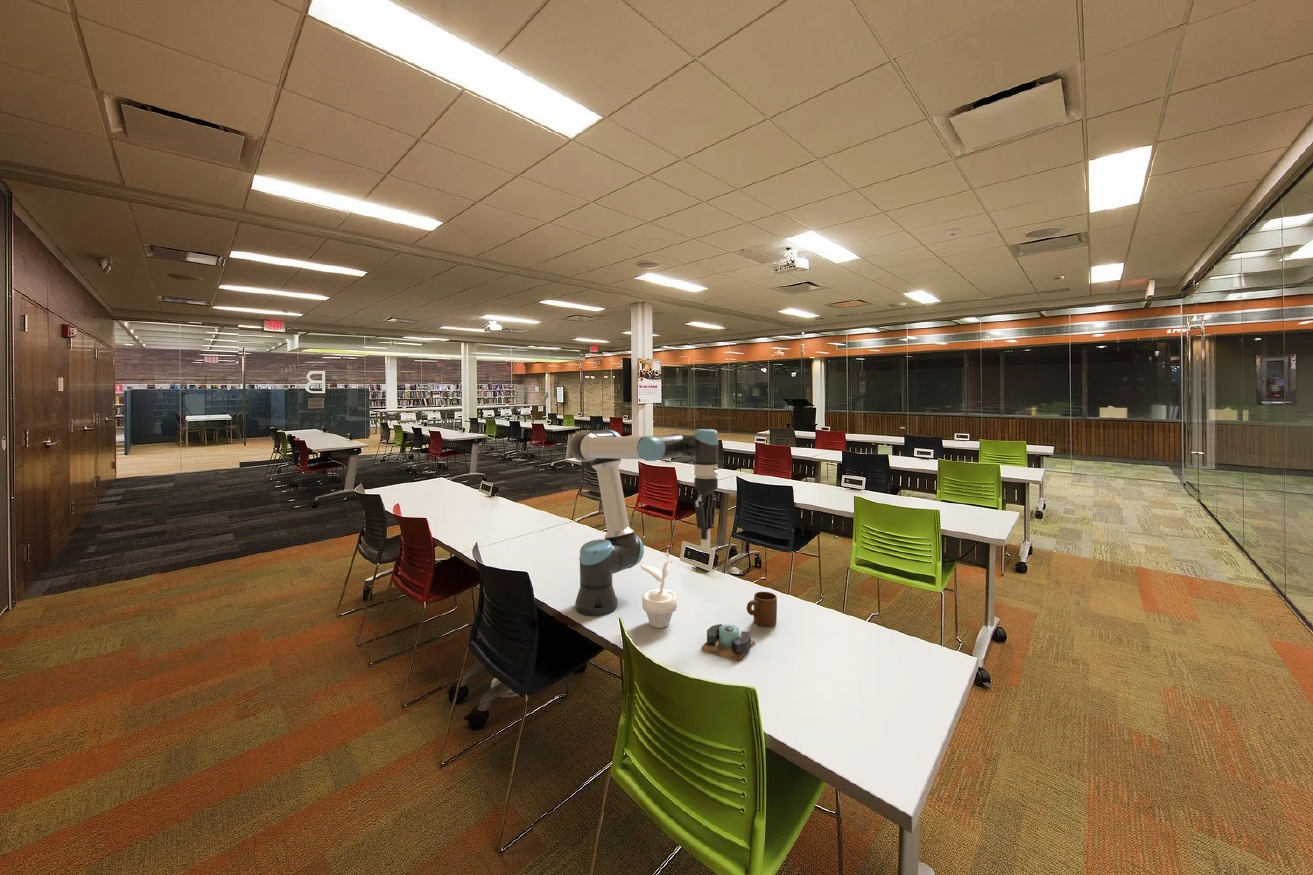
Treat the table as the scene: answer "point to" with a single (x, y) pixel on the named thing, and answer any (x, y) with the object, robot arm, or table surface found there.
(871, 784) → the table surface
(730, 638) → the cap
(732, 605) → the table surface
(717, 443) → the robot arm
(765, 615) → the mug
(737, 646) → the pair of curved blocks
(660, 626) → the potted plant
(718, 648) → the board
